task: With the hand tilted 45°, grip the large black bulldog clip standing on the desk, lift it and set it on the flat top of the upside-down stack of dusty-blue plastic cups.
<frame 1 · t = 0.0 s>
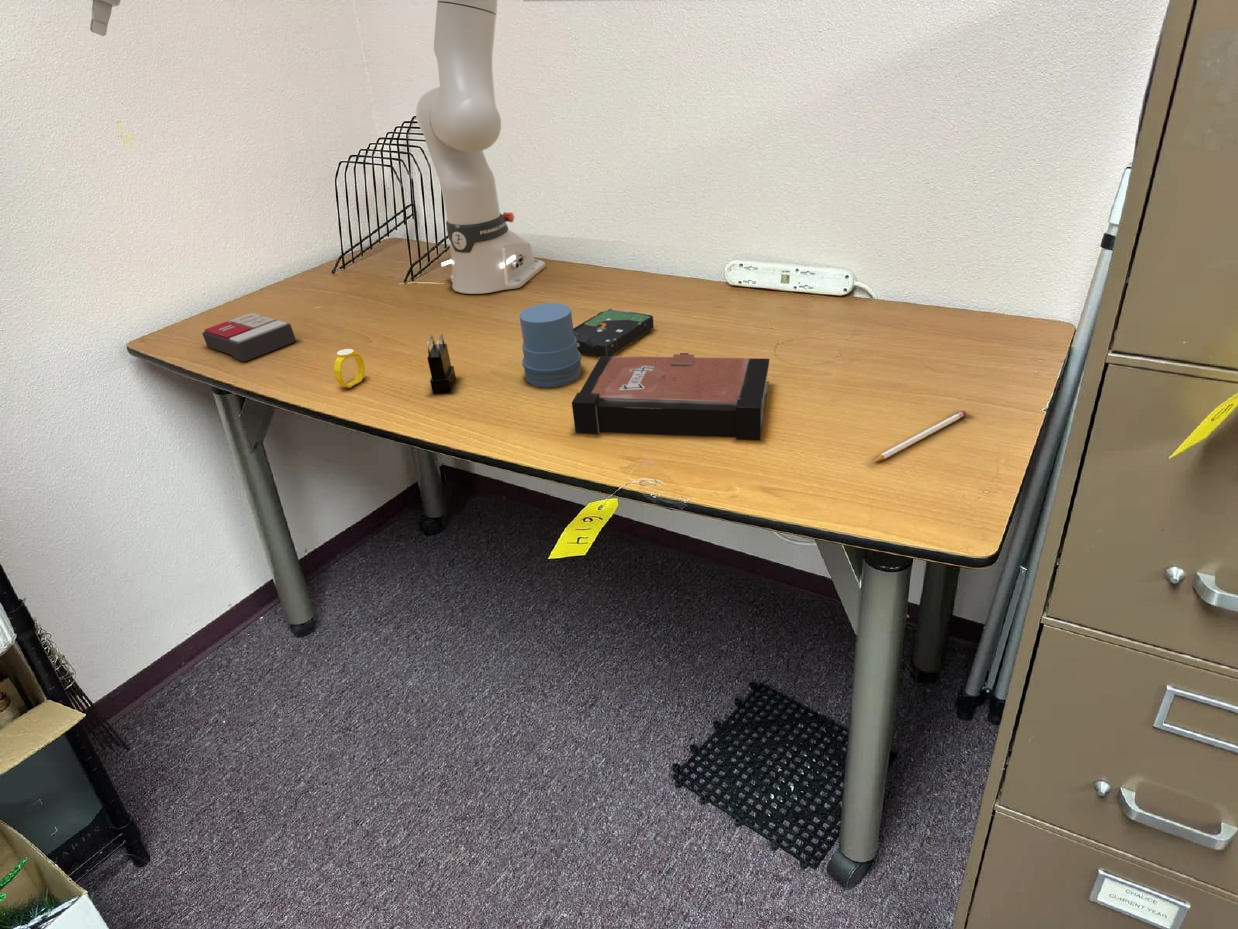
hand: (97, 33, 127), 54 cm above the table, tool tilted 30°, fingers open, 8 cm apart
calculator: (251, 345, 159), on the table
disk drive: (608, 340, 146), on the table
clip: (444, 386, 135), on the table
watch: (353, 385, 139), on the table
book: (675, 408, 122), on the table
pencil: (919, 440, 108), on the table
cup stack: (553, 375, 135), on the table
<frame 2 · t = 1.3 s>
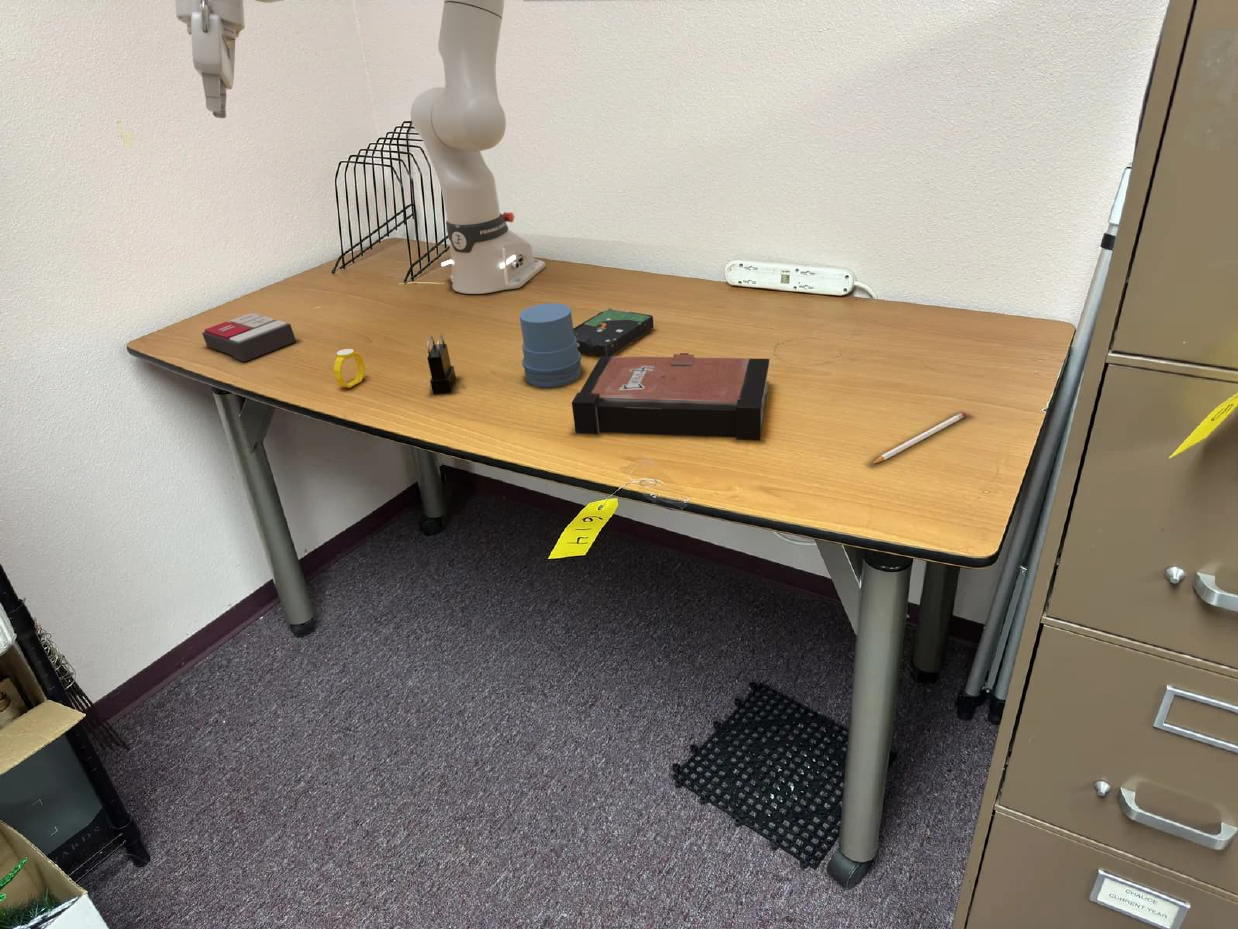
hand: (216, 114, 121), 43 cm above the table, tool tilted 20°, fingers open, 8 cm apart
nothing on the table moved.
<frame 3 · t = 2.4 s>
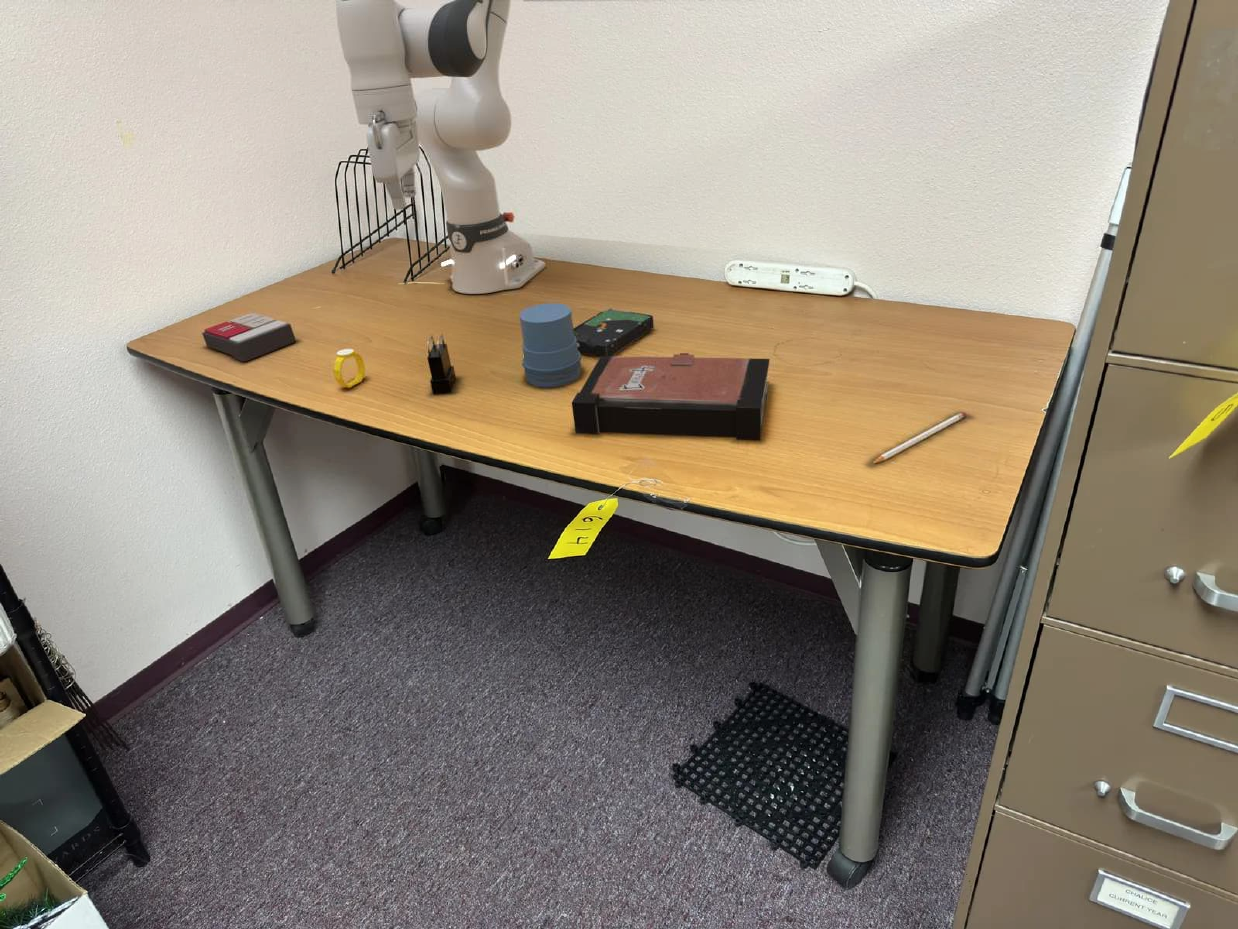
hand: (405, 202, 130), 27 cm above the table, tool pointing down, fingers open, 8 cm apart
nothing on the table moved.
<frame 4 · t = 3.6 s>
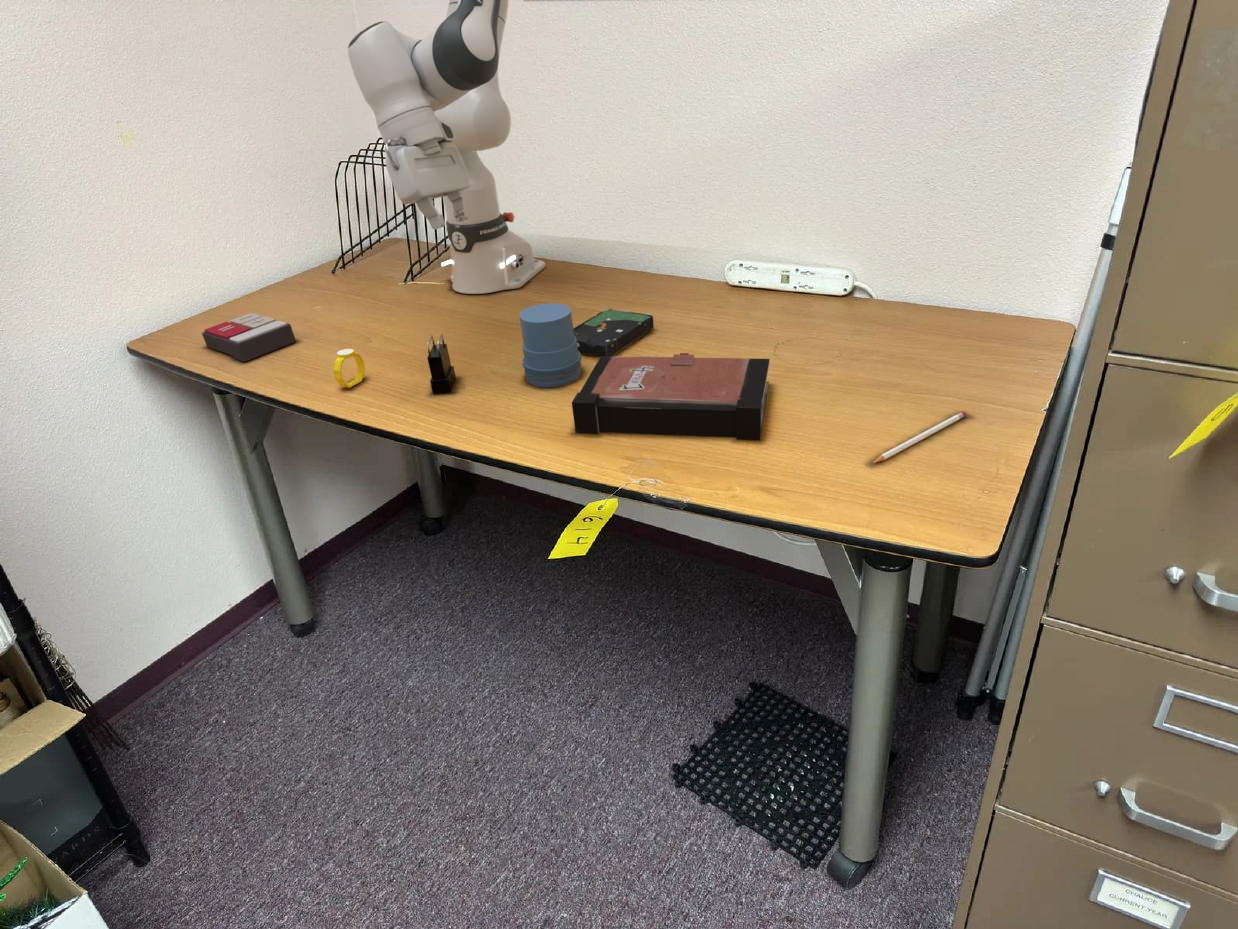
hand: (452, 224, 130), 24 cm above the table, tool tilted 20°, fingers open, 8 cm apart
nothing on the table moved.
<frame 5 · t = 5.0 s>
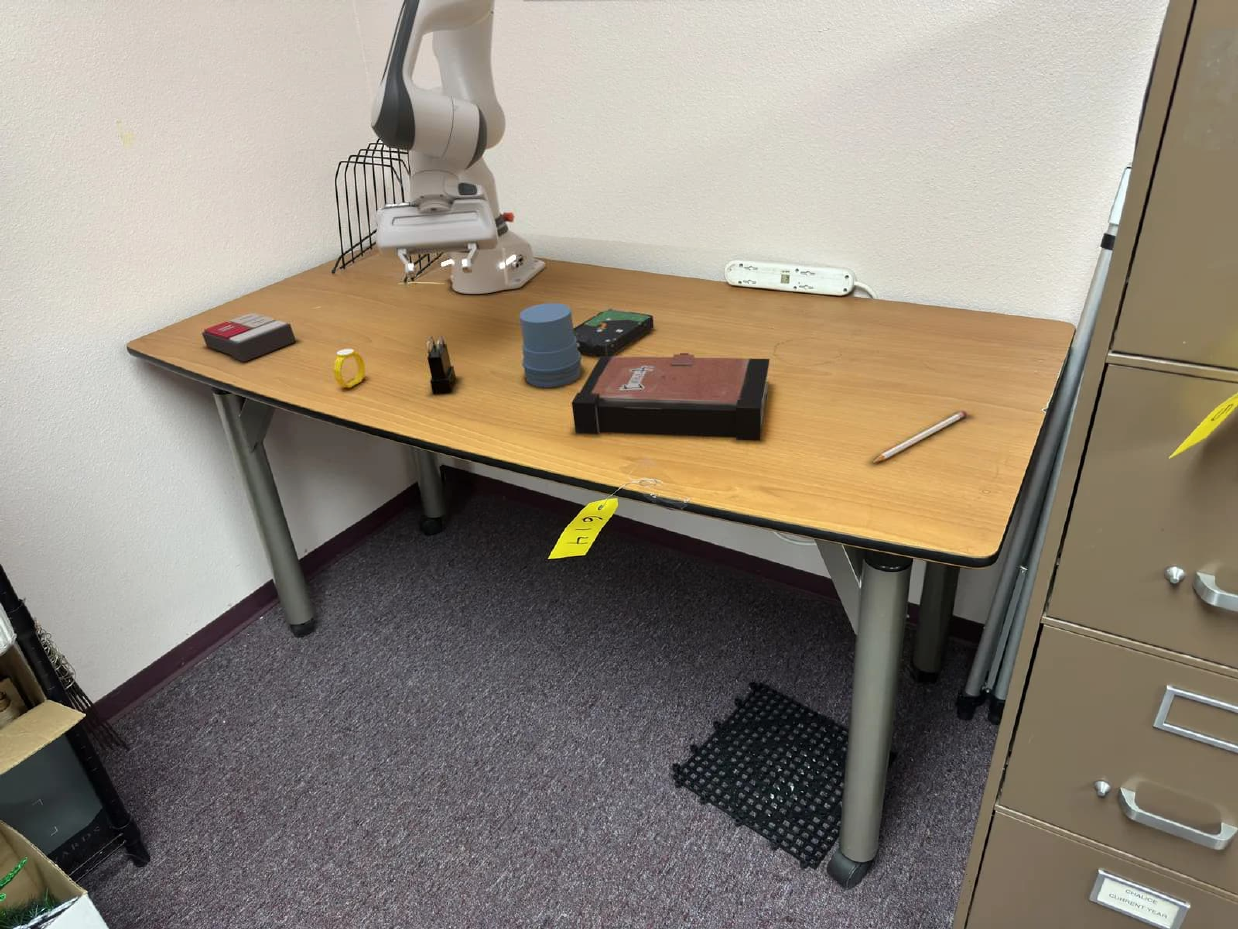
hand: (439, 273, 137), 15 cm above the table, tool tilted 45°, fingers open, 8 cm apart
nothing on the table moved.
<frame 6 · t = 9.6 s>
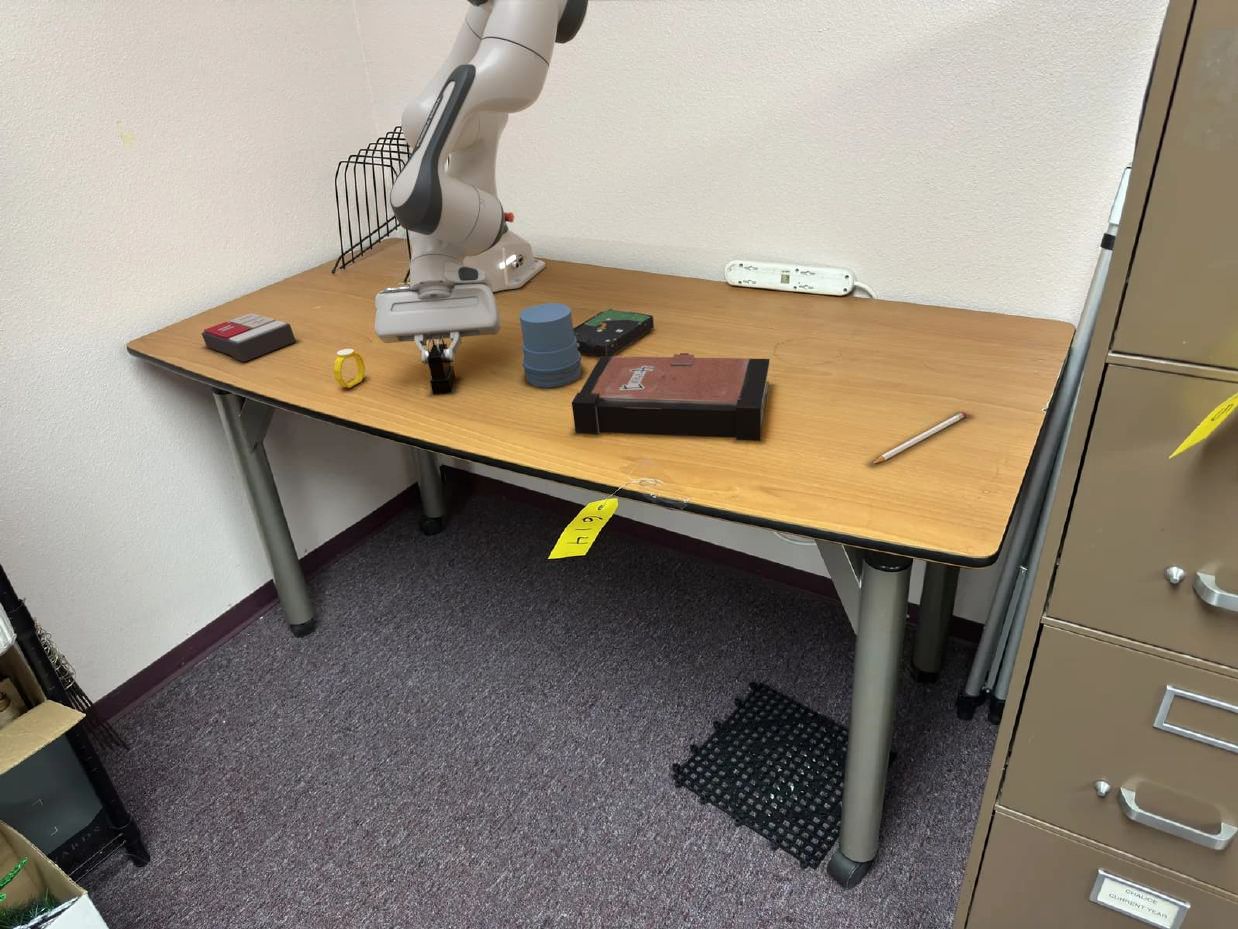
hand: (438, 362, 132), 5 cm above the table, tool tilted 45°, fingers closed on clip, 2 cm apart
clip: (444, 386, 135), on the table, touching gripper
everything else where it was.
when the fingers open (16 cm above the table, at t = 16.6 s): clip stays where it is, resting on cup stack.
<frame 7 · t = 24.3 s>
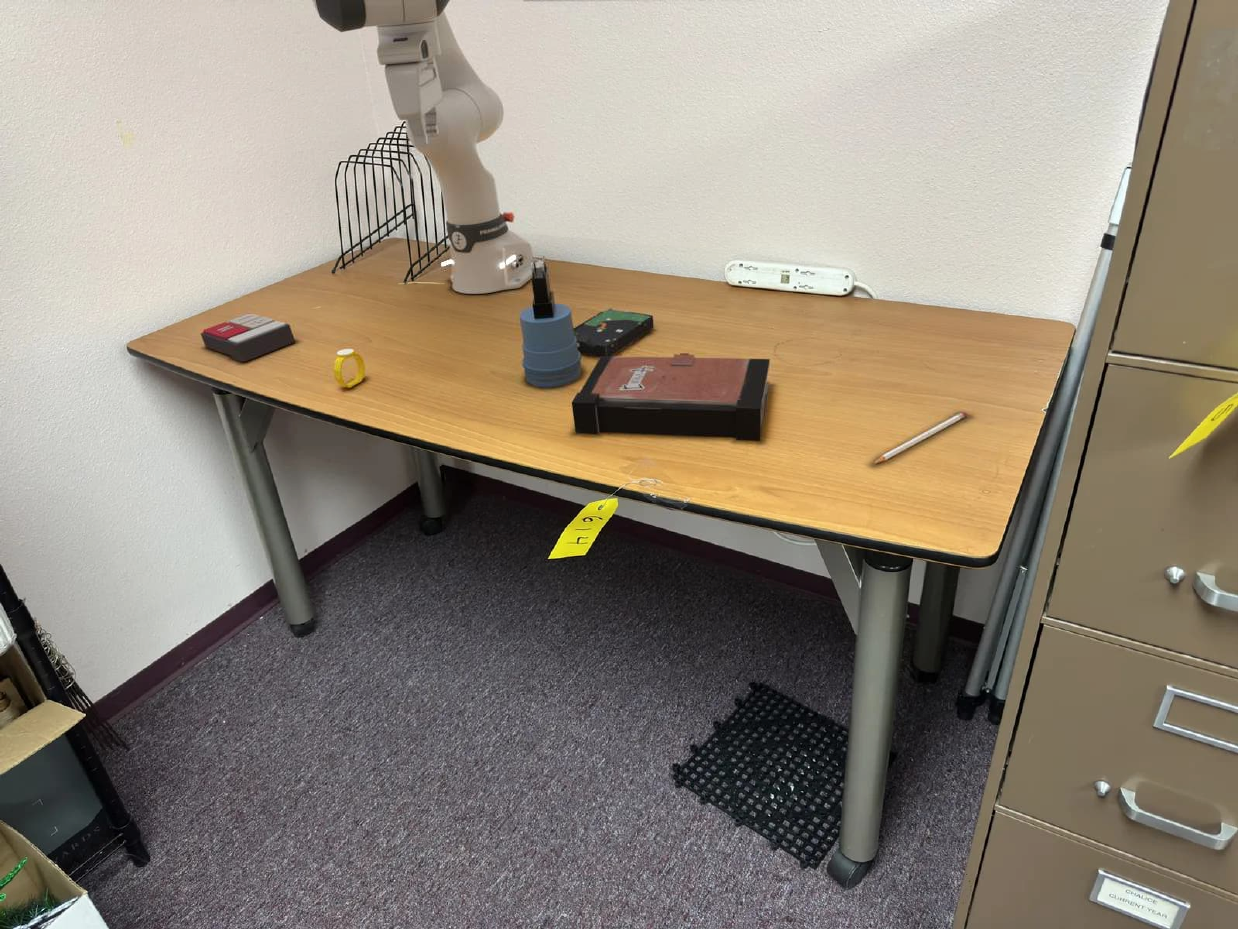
hand: (427, 141, 132), 35 cm above the table, tool pointing down, fingers open, 8 cm apart
clip: (545, 312, 129), point 11 cm above the table, touching cup stack
everything else where it was.
at the end: clip 0.1 cm off-centre on the cup stack, point 11.0 cm above the cup stack's base; clip tilted 0°; the gripper is holding nothing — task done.
